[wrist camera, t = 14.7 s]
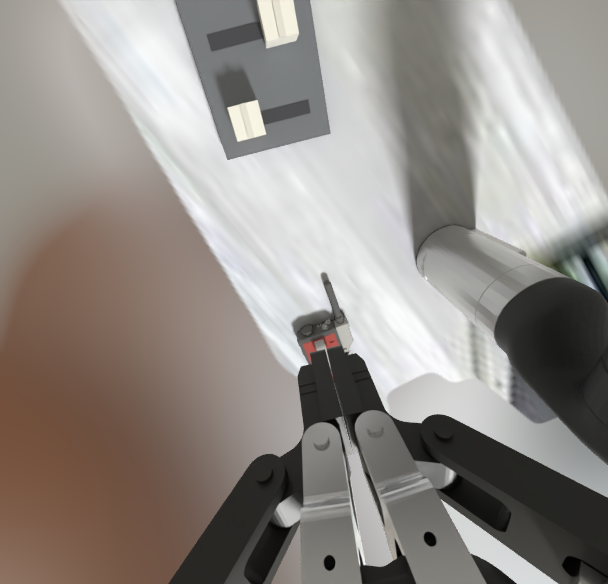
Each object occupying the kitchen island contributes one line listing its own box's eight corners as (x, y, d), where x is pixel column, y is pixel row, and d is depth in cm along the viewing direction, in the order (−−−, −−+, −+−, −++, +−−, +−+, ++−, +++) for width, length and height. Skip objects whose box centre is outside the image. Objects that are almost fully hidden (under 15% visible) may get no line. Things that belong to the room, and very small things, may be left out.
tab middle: (288, -1, 26) (291, -15, 24) (296, 40, 28) (299, 32, 25) (257, 7, 26) (256, -6, 24) (266, 48, 28) (266, 40, 25)
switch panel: (285, -131, 24) (286, -152, 22) (327, 133, 34) (330, 133, 32) (147, -95, 24) (138, -113, 23) (229, 158, 34) (227, 160, 32)
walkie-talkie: (361, 364, 54) (331, 275, 44) (369, 382, 50) (338, 288, 40) (317, 379, 54) (278, 294, 45) (321, 398, 51) (279, 310, 41)
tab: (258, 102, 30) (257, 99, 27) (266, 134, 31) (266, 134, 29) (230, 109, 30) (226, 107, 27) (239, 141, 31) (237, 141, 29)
